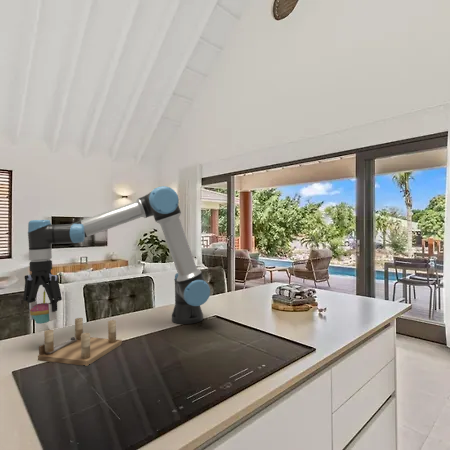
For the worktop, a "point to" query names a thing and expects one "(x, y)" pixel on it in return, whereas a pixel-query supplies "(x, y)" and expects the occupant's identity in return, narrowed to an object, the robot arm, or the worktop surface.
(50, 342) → the gray bar with post
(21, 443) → the worktop surface
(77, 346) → the wooden peg board
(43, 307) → the cupcake
